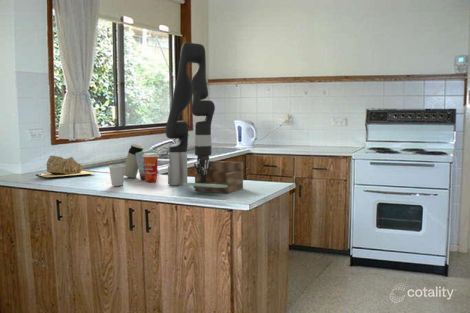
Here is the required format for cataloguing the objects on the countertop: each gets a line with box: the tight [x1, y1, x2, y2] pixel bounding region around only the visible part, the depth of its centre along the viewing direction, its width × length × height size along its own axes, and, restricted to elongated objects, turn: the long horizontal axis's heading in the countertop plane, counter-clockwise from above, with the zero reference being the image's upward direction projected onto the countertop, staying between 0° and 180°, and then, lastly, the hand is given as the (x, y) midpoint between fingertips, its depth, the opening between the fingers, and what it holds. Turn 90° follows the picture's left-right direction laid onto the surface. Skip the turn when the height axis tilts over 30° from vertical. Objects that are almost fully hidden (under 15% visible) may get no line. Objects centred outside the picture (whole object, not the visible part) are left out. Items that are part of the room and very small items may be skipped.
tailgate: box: [182, 182, 228, 189], centre depth 230 cm, size 18×2×10 cm
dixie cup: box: [108, 164, 125, 187], centre depth 259 cm, size 8×8×10 cm
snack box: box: [135, 148, 159, 180], centre depth 286 cm, size 21×6×15 cm, turn 175°
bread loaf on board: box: [39, 155, 93, 178], centre depth 299 cm, size 28×22×16 cm
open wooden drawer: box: [194, 160, 244, 194], centre depth 243 cm, size 18×16×13 cm
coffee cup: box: [143, 152, 159, 183], centre depth 272 cm, size 8×8×15 cm
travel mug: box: [124, 143, 145, 179], centre depth 284 cm, size 8×8×18 cm
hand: (203, 182), depth 228 cm, fingers closed
